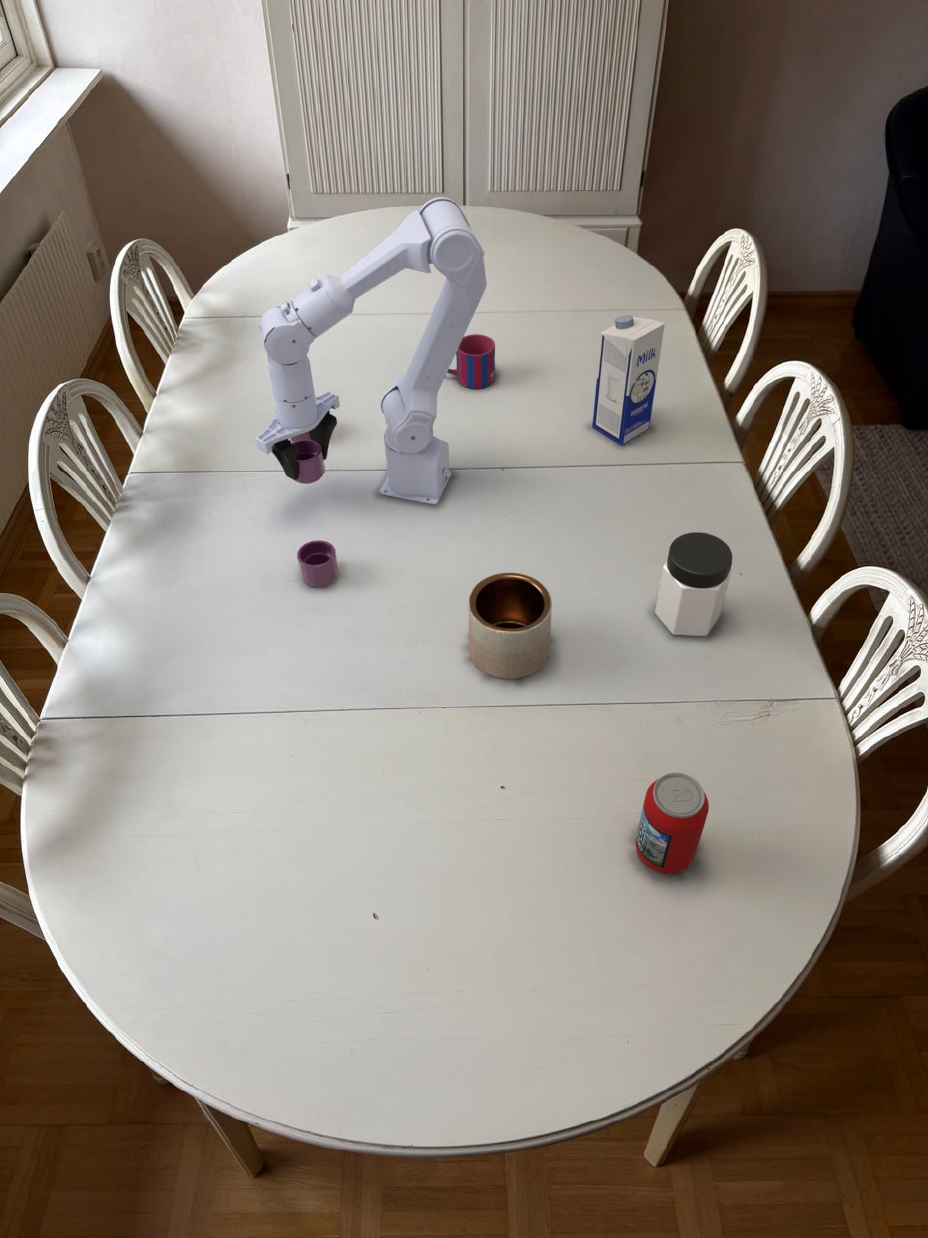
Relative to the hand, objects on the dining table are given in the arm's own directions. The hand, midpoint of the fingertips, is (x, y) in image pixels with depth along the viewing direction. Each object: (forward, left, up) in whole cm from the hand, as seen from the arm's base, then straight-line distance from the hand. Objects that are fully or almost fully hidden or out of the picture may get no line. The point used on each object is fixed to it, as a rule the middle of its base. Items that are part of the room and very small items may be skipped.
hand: (306, 466), depth 151 cm
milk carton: (-43, -31, -7) cm, 53 cm away
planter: (-38, +21, -7) cm, 44 cm away
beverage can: (-63, +45, -7) cm, 77 cm away
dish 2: (0, 0, -1) cm, 1 cm away
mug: (-14, -38, -7) cm, 41 cm away
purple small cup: (-8, +15, -7) cm, 18 cm away
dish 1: (+7, -15, -7) cm, 18 cm away
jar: (-60, +8, -7) cm, 60 cm away
